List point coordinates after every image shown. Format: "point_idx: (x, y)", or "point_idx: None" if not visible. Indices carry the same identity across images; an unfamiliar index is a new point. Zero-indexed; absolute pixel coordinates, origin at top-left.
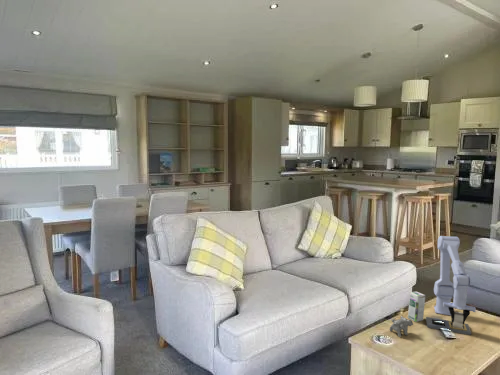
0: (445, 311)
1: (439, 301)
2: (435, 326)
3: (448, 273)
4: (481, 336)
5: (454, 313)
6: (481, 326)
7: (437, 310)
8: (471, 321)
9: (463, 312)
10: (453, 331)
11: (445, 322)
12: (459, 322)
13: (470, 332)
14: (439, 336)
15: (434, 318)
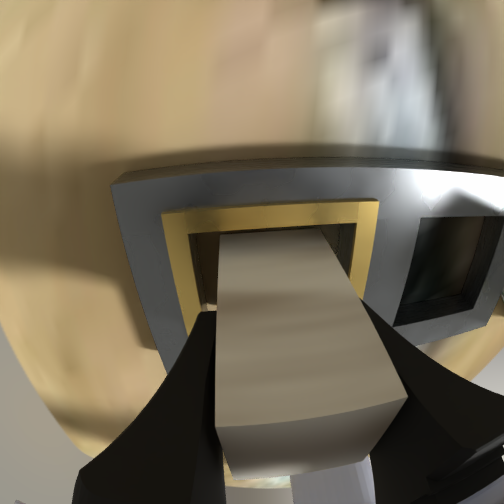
0: None
1: (370, 490)
2: (497, 174)
3: None
4: (37, 210)
5: (387, 425)
6: (89, 383)
7: None
8: None
9: (219, 492)
10: (331, 159)
11: (386, 312)
12: (272, 299)
13: (119, 184)
14: (464, 9)
15: (445, 334)
